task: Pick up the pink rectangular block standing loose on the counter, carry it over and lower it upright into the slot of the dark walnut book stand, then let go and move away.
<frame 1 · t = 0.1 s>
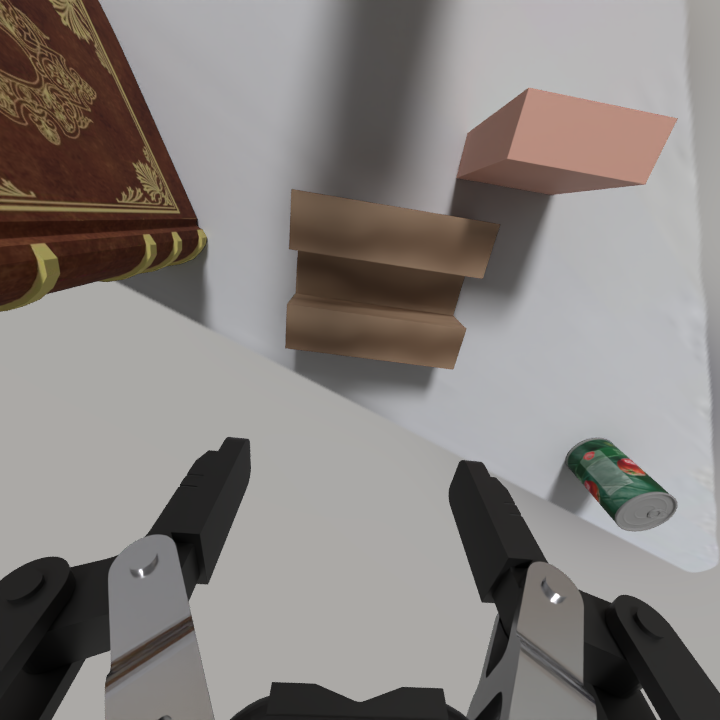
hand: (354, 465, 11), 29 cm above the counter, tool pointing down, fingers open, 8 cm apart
canned tomato: (588, 454, 51), on the counter
pink rectangular block: (510, 165, 32), on the counter
book stand: (379, 279, 37), on the counter
decorative book: (133, 154, 31), on the counter
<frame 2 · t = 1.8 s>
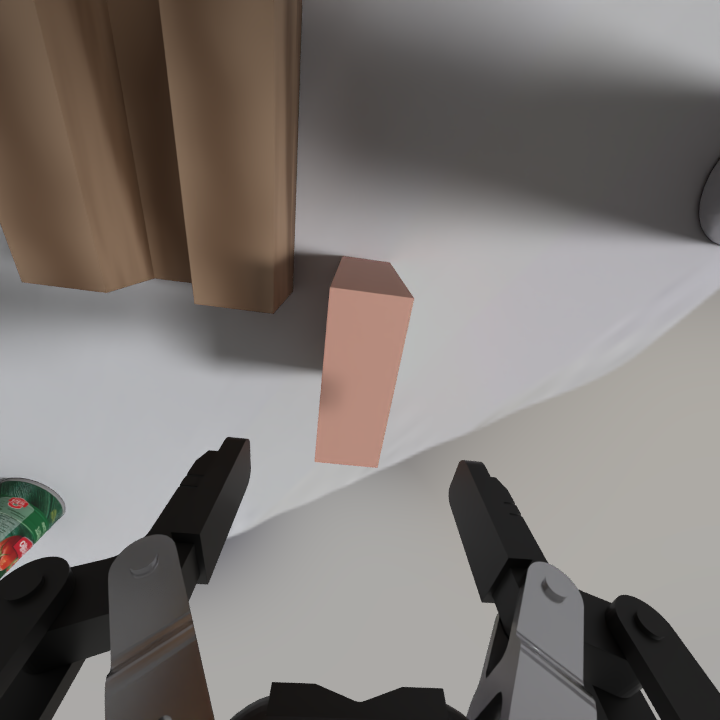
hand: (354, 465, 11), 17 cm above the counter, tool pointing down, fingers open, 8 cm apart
canned tomato: (33, 498, 37), on the counter
pink rectangular block: (357, 321, 27), on the counter
book stand: (184, 136, 21), on the counter
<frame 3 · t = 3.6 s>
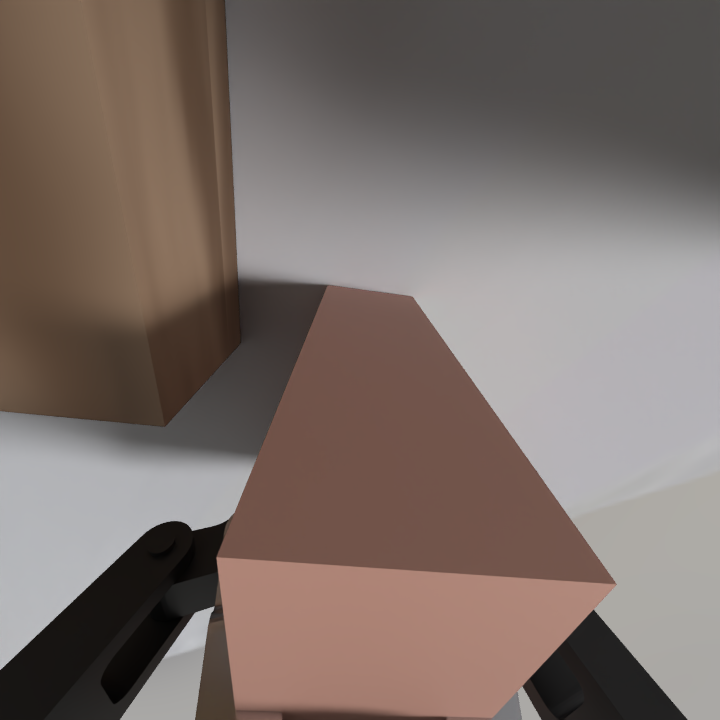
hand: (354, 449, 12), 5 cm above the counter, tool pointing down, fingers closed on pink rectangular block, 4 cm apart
pink rectangular block: (355, 390, 16), on the counter, touching gripper
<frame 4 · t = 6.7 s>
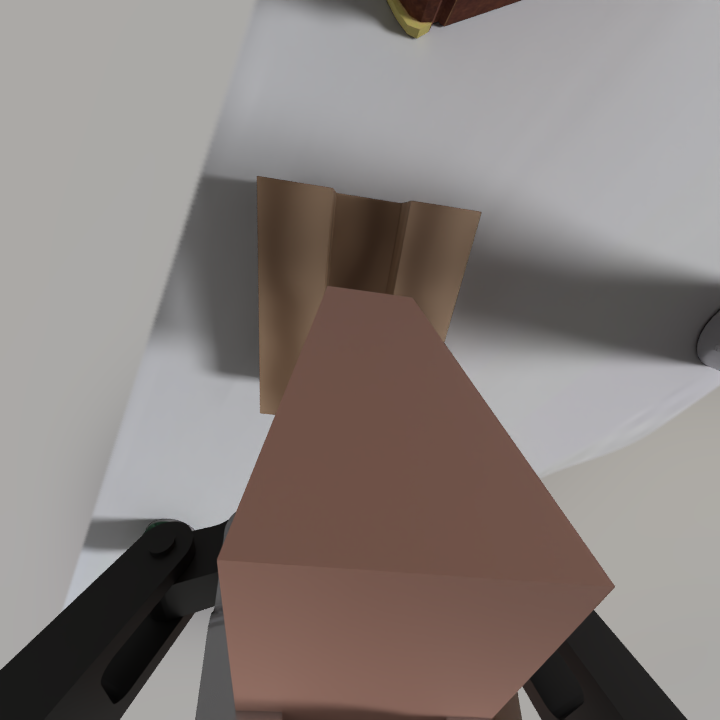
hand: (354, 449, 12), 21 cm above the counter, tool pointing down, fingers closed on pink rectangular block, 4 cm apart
pink rectangular block: (354, 391, 16), point 16 cm above the counter, touching gripper
book stand: (354, 306, 31), on the counter
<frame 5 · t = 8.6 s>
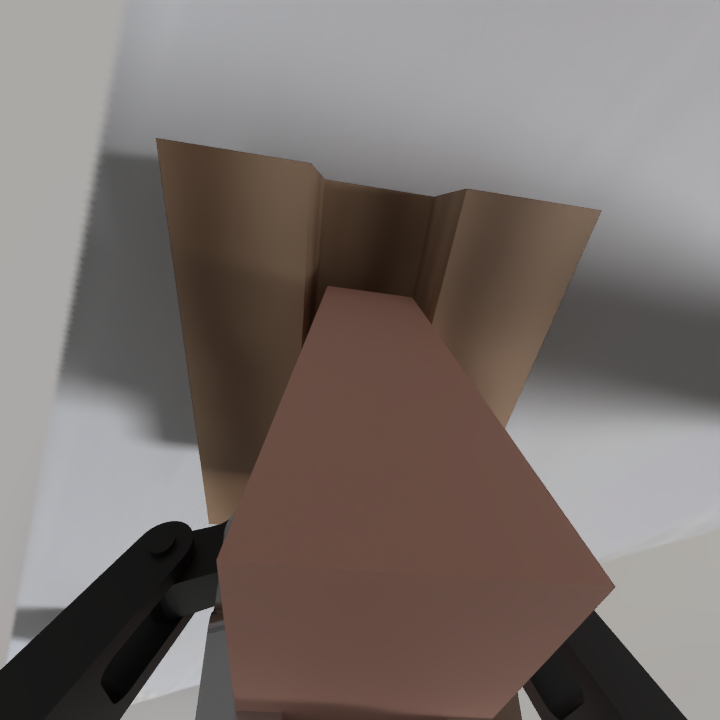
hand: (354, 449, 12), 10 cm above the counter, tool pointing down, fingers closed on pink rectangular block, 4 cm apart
pink rectangular block: (354, 391, 16), point 5 cm above the counter, touching gripper
book stand: (355, 353, 21), on the counter
when the fingers open (7 cm above the counter, at t = 9.9 s): pink rectangular block drops 1 cm, resting on book stand.
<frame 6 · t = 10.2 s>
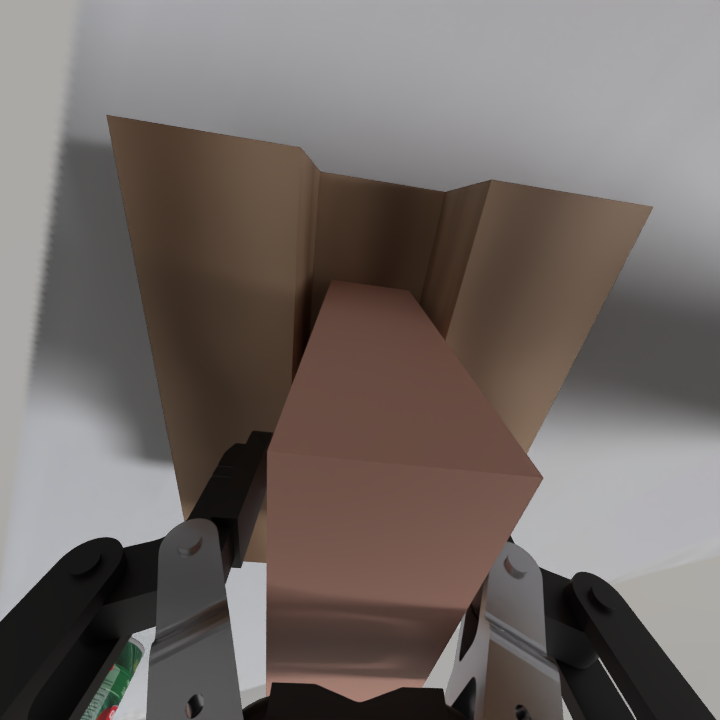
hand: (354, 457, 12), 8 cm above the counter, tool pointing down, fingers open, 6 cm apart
canned tomato: (111, 643, 35), on the counter
pink rectangular block: (356, 378, 17), point 1 cm above the counter, touching book stand
book stand: (354, 365, 19), on the counter
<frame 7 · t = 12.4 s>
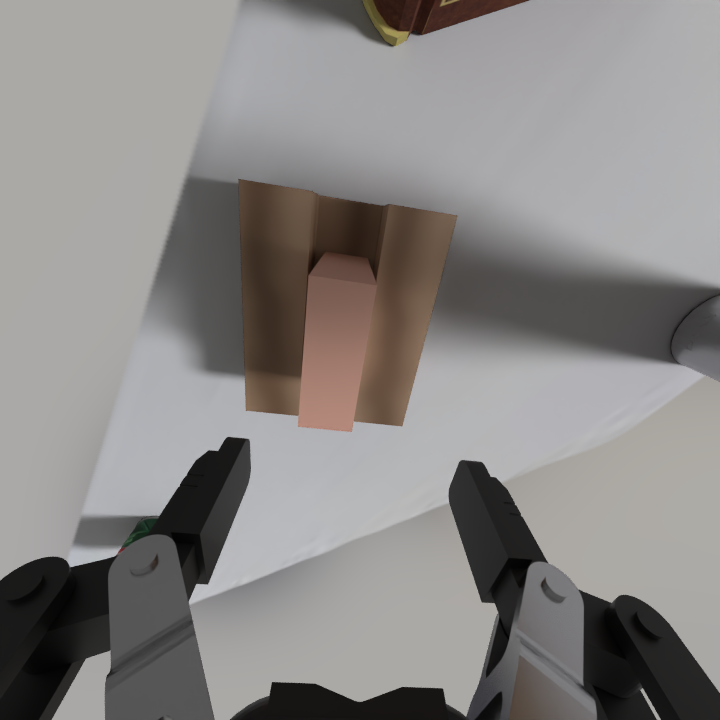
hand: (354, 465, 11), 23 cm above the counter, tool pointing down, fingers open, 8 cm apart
canned tomato: (163, 530, 47), on the counter
pink rectangular block: (339, 310, 30), point 1 cm above the counter, touching book stand
book stand: (339, 306, 31), on the counter
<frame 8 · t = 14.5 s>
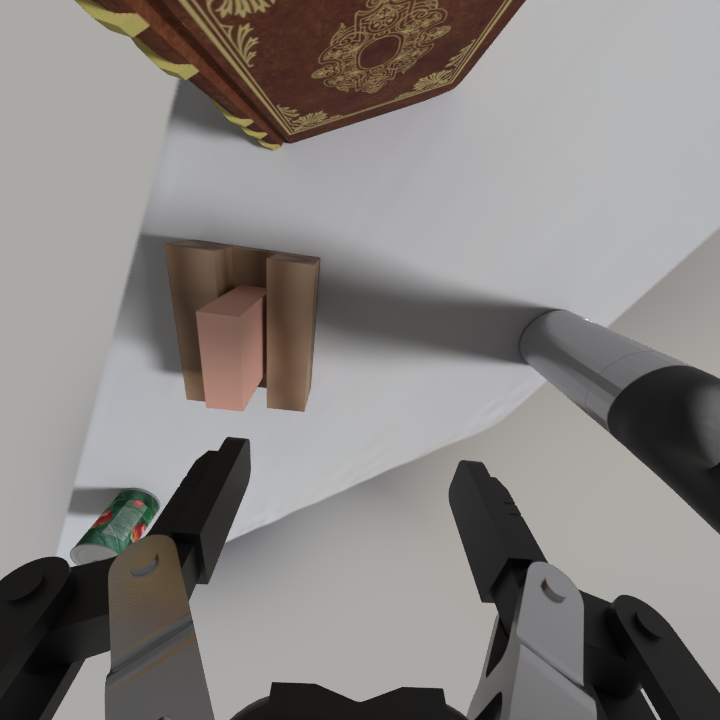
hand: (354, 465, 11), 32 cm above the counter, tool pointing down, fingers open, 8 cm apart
canned tomato: (140, 500, 58), on the counter
pink rectangular block: (256, 326, 41), point 1 cm above the counter, touching book stand
book stand: (259, 322, 42), on the counter
decorative book: (343, 80, 31), on the counter
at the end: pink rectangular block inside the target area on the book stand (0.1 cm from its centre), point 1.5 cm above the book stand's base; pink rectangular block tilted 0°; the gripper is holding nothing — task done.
